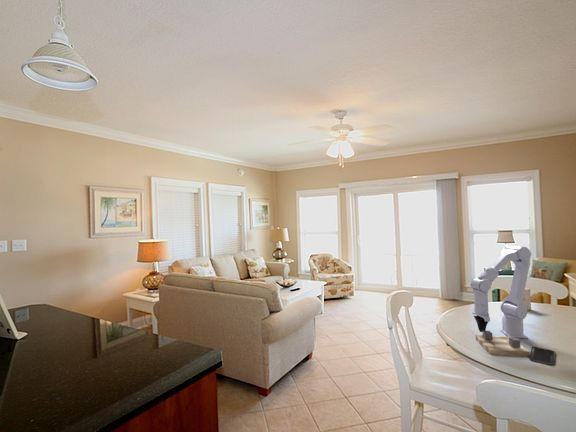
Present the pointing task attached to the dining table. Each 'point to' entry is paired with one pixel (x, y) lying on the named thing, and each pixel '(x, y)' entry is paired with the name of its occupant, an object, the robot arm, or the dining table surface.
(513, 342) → the switch tab
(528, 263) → the robot arm
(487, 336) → the switch tab
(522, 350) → the switch board
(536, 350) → the phone
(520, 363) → the dining table surface
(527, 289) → the supplement box
